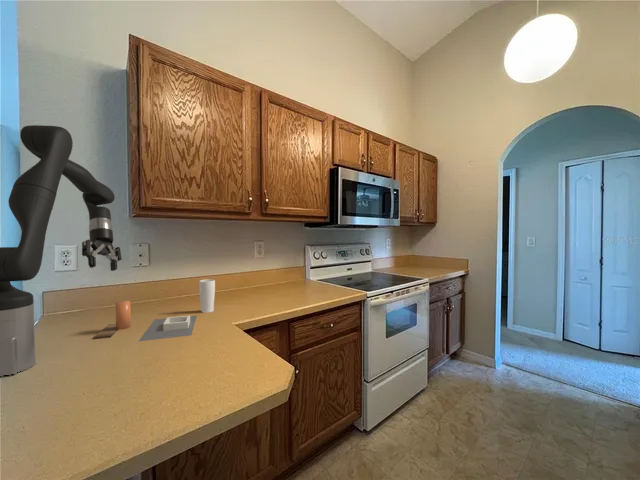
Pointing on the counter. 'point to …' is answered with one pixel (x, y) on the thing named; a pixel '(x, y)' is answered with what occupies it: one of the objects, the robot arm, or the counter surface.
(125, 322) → the orange cylinder
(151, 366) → the counter surface
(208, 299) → the drinking glass
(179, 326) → the board
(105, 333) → the pad
